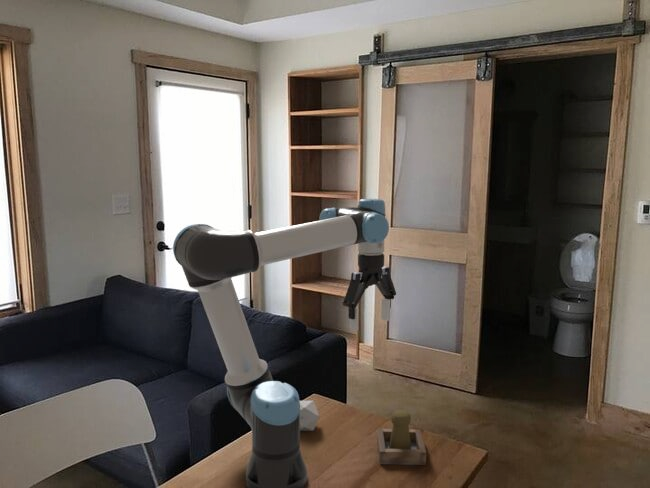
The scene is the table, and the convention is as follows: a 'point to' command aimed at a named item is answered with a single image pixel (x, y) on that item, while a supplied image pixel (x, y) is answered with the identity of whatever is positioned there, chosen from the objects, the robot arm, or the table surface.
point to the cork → (400, 430)
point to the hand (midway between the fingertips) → (370, 324)
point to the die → (308, 415)
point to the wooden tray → (401, 455)
